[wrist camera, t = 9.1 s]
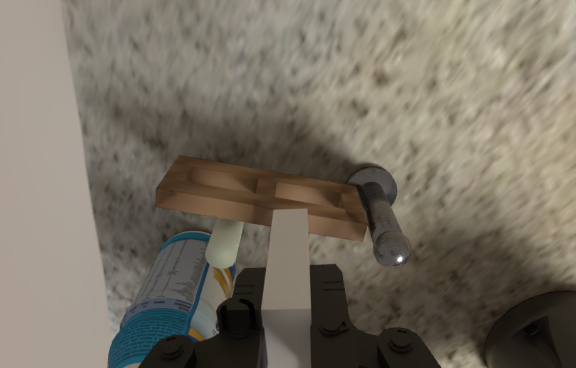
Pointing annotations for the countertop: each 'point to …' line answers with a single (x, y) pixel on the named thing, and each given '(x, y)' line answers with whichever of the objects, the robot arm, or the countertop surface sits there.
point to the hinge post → (381, 215)
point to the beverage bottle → (173, 300)
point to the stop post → (224, 243)
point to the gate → (260, 196)
